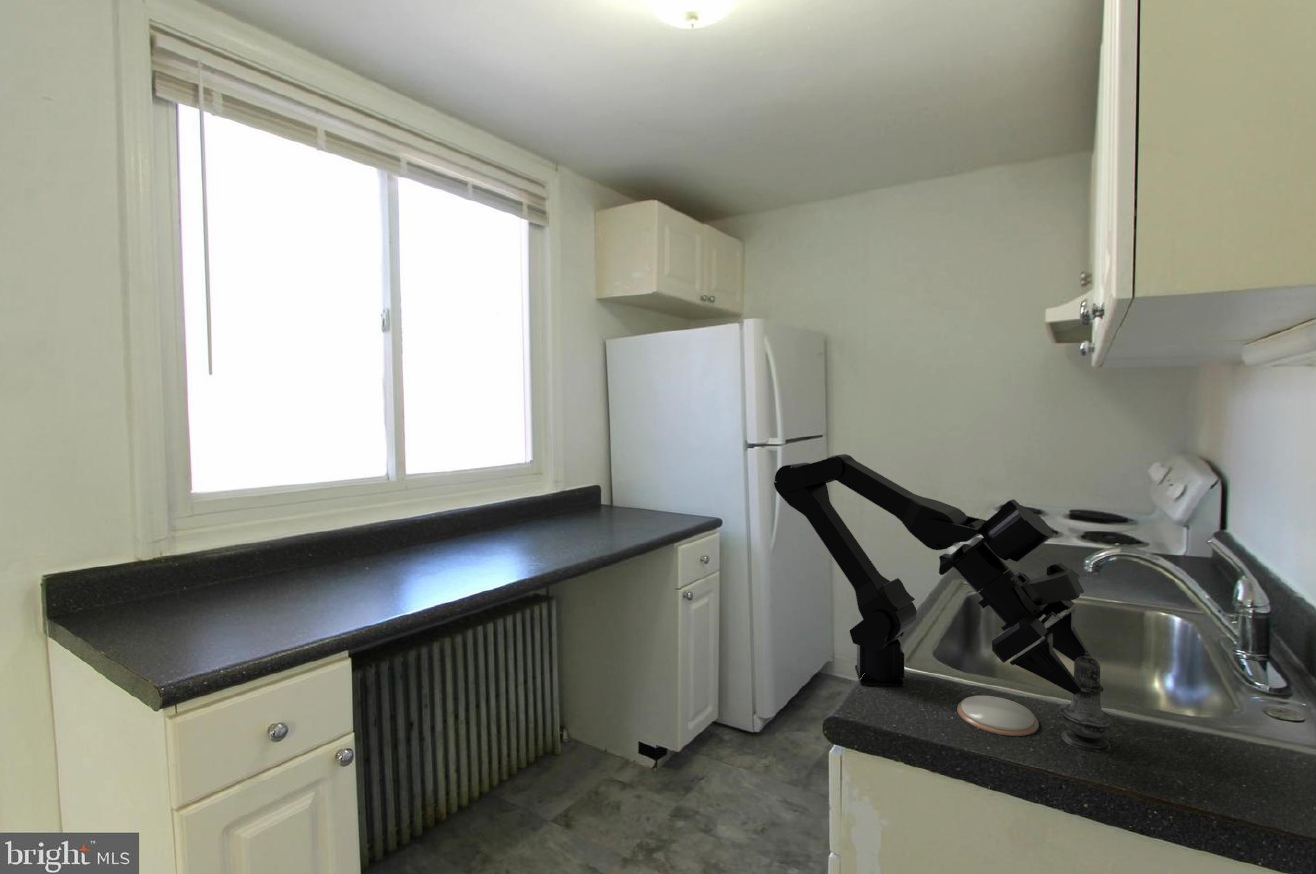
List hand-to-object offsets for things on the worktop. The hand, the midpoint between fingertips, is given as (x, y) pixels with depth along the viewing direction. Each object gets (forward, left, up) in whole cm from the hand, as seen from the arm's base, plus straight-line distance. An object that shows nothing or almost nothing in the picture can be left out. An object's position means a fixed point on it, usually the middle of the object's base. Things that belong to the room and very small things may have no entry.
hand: (1086, 680), depth 81 cm
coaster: (-9, +5, -8) cm, 13 cm away
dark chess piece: (0, 0, -8) cm, 8 cm away
